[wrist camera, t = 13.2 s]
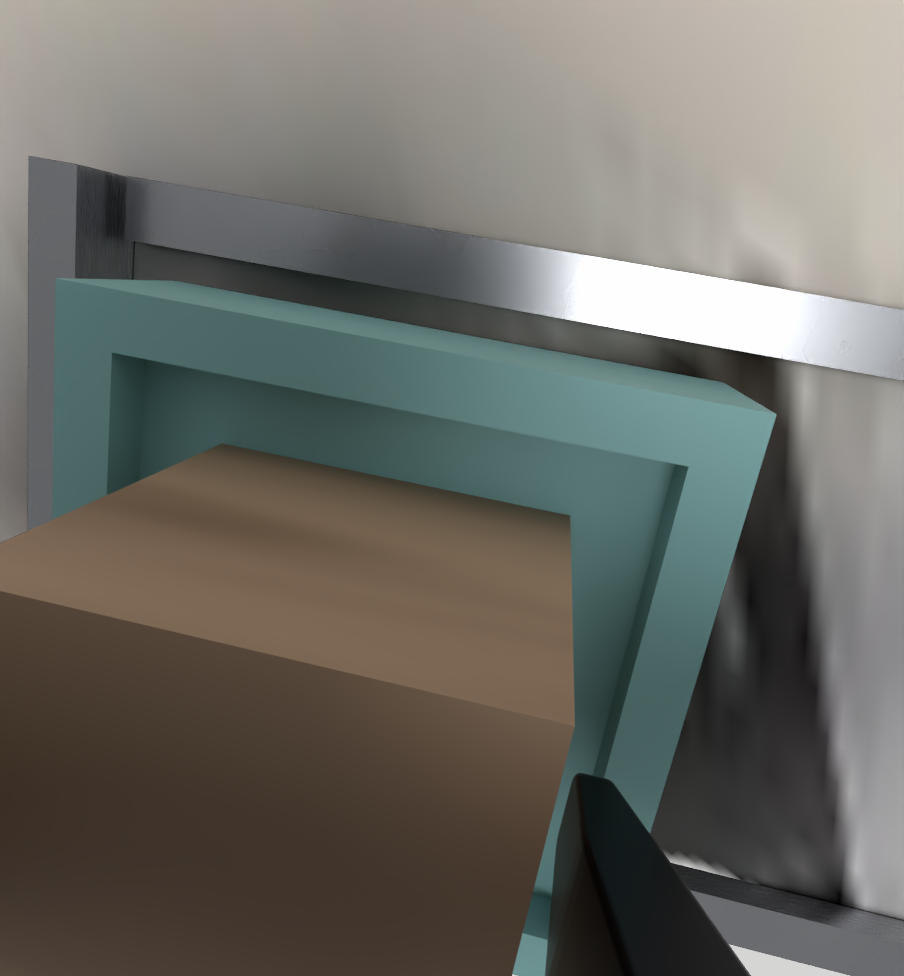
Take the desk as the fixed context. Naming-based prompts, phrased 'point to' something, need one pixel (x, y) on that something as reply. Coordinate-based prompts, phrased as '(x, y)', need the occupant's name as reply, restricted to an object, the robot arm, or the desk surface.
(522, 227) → the desk surface
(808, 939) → the gray metal rectangular frame
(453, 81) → the desk surface
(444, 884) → the walnut block
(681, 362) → the desk surface
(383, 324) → the teal square tray
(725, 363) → the desk surface
